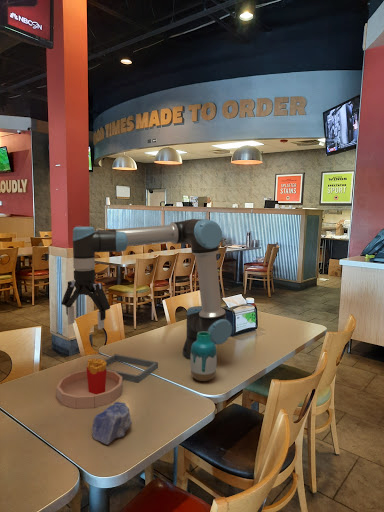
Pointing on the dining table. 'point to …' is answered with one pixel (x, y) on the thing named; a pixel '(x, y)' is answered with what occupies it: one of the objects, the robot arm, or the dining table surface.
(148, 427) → the dining table surface
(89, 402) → the bowl
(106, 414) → the mineral
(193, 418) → the dining table surface
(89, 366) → the french fries
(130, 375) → the gray square frame
